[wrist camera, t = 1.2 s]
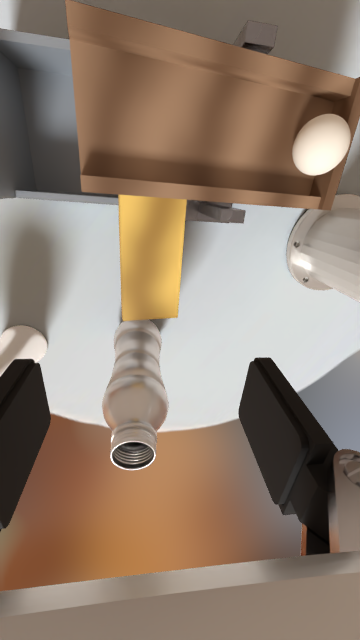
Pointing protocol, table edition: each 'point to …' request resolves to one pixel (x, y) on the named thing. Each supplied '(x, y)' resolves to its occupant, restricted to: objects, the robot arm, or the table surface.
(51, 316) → the table surface
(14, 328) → the beer glass
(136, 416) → the plastic bottle
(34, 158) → the cup
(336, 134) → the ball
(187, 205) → the pivot stand
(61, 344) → the table surface
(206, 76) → the lever chute
